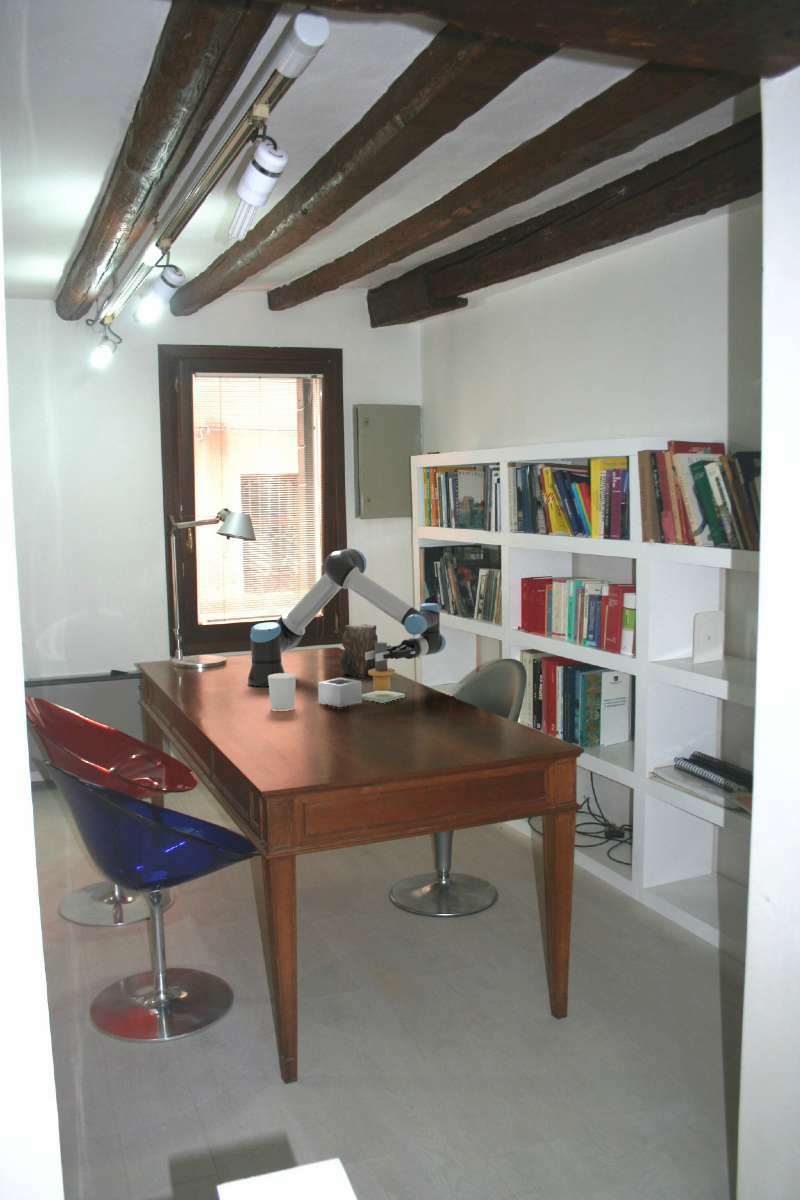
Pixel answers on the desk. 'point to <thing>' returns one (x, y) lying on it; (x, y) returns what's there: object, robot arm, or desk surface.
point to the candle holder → (282, 690)
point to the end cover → (381, 670)
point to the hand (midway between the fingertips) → (371, 656)
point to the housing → (340, 692)
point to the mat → (382, 696)
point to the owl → (358, 649)
